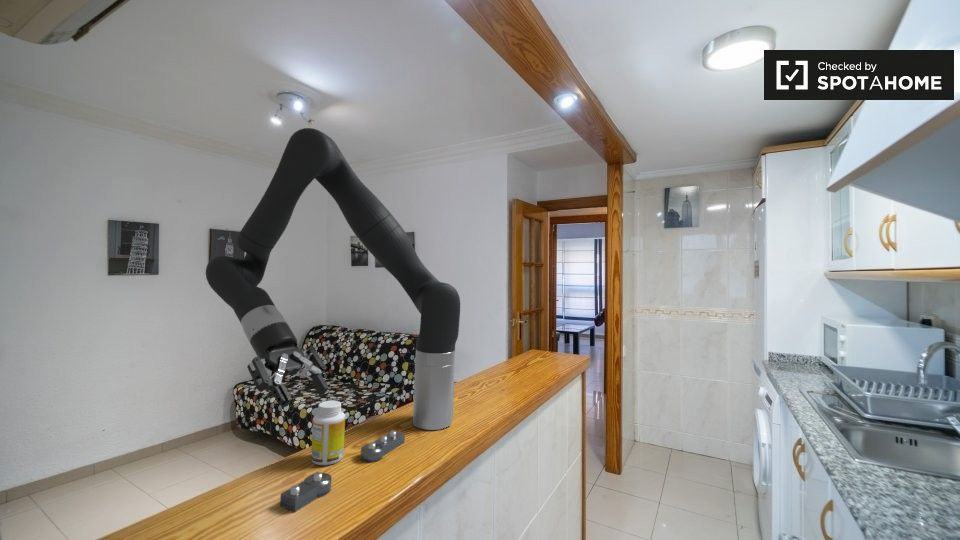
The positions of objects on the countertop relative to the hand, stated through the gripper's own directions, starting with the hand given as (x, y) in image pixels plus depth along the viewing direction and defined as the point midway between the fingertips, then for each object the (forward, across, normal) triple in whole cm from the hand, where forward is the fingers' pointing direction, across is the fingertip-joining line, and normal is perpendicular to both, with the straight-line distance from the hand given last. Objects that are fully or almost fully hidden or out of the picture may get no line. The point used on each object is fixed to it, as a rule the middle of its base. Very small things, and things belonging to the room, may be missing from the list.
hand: (307, 398), depth 74 cm
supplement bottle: (+12, 0, +3) cm, 12 cm away
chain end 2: (+16, +8, -2) cm, 18 cm away
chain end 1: (+16, -11, -2) cm, 19 cm away
